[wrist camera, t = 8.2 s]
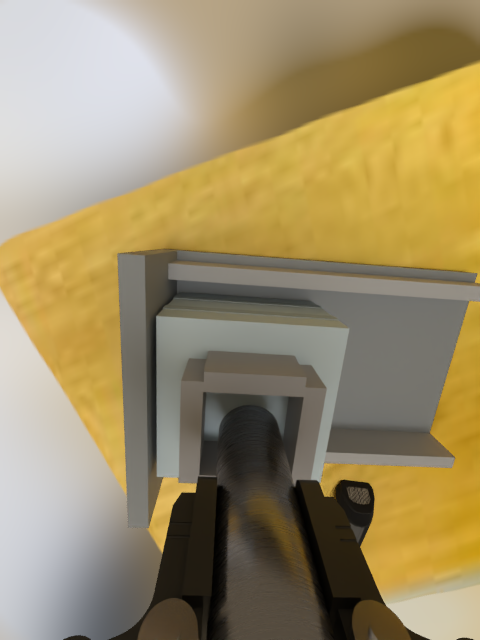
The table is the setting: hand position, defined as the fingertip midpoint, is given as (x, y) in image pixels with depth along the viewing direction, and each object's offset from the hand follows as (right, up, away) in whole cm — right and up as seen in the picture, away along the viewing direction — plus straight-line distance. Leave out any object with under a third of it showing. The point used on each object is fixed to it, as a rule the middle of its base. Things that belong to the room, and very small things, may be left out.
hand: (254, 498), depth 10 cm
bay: (+5, +3, +14) cm, 15 cm away
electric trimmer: (+10, -16, +20) cm, 28 cm away
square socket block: (0, +3, +12) cm, 13 cm away
